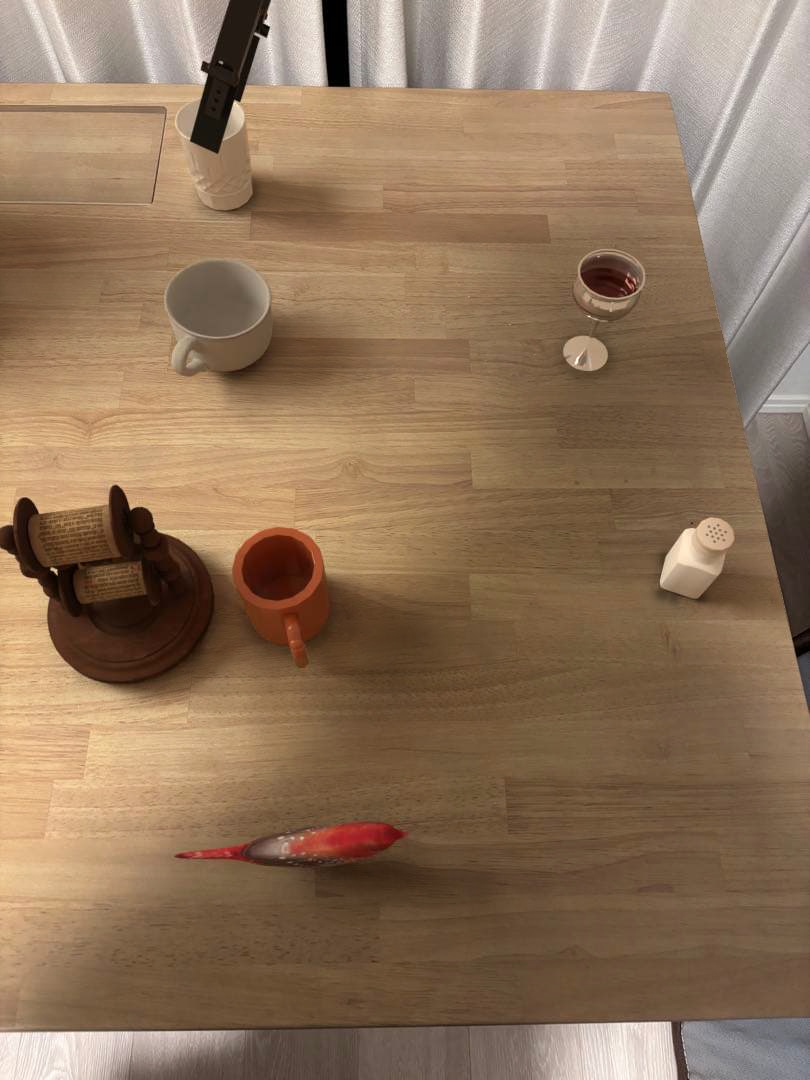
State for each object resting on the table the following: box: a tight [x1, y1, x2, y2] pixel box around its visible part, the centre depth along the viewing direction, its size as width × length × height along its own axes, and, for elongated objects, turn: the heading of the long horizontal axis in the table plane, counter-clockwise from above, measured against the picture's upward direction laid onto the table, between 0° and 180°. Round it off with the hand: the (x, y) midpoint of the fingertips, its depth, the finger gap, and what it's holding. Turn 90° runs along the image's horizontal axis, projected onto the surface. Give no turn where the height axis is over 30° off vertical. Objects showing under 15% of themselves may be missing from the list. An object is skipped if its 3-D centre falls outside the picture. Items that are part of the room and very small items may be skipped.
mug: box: [231, 526, 331, 669], centre depth 73 cm, size 11×8×9 cm
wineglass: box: [562, 248, 646, 372], centre depth 86 cm, size 7×7×12 cm
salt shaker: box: [659, 517, 735, 600], centre depth 75 cm, size 4×4×10 cm
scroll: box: [0, 484, 216, 686], centre depth 68 cm, size 15×15×20 cm
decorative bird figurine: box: [173, 821, 410, 869], centre depth 63 cm, size 3×18×10 cm, turn 95°
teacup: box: [163, 257, 273, 378], centre depth 87 cm, size 14×11×8 cm
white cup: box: [174, 97, 254, 211], centre depth 97 cm, size 8×8×10 cm
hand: (216, 119), depth 82 cm, fingers open, 13 cm apart
